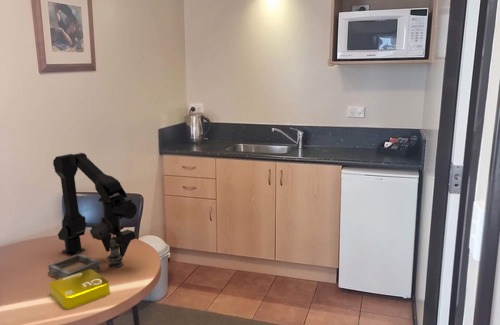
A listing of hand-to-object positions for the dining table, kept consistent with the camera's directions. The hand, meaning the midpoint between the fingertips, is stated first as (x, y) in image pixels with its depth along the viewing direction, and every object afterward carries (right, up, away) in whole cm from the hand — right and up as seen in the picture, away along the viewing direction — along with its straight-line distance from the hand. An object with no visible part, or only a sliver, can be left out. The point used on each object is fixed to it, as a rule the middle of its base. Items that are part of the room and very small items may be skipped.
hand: (115, 253), depth 165 cm
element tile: (-5, -10, -19) cm, 22 cm away
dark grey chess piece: (0, -5, +1) cm, 5 cm away
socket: (-13, -6, -5) cm, 15 cm away
